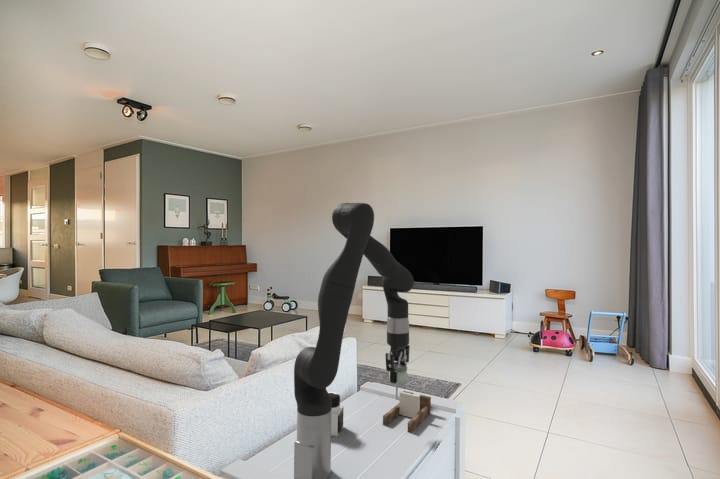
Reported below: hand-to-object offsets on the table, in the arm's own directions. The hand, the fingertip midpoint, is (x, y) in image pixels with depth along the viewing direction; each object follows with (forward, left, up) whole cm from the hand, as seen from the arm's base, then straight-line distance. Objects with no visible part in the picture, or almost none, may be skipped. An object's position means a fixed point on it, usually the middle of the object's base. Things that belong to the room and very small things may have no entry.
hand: (398, 379), depth 131 cm
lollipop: (+22, +11, -17) cm, 30 cm away
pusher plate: (+13, 0, -16) cm, 21 cm away
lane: (+7, 0, -16) cm, 18 cm away
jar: (0, 0, -1) cm, 1 cm away
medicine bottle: (-14, +18, -17) cm, 28 cm away
